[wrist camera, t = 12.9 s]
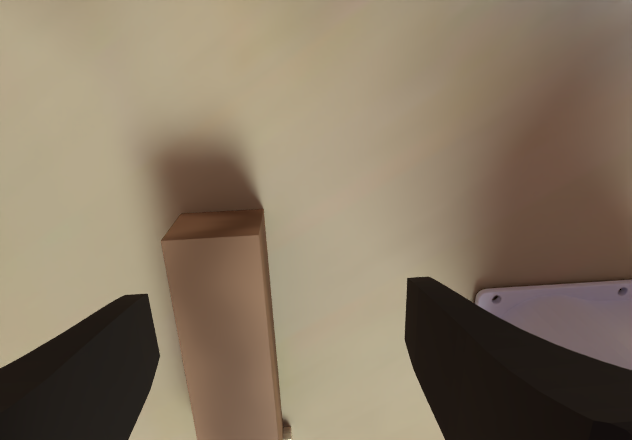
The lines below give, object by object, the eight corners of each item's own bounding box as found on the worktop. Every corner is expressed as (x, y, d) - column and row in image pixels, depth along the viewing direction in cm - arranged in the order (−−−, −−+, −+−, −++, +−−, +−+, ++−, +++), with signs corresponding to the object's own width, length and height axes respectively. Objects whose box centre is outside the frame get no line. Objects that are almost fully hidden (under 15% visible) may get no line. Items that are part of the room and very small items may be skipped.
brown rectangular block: (273, 207, 20) (271, 234, 17) (295, 473, 27) (295, 530, 23) (171, 213, 20) (148, 241, 17) (216, 480, 26) (206, 538, 23)
